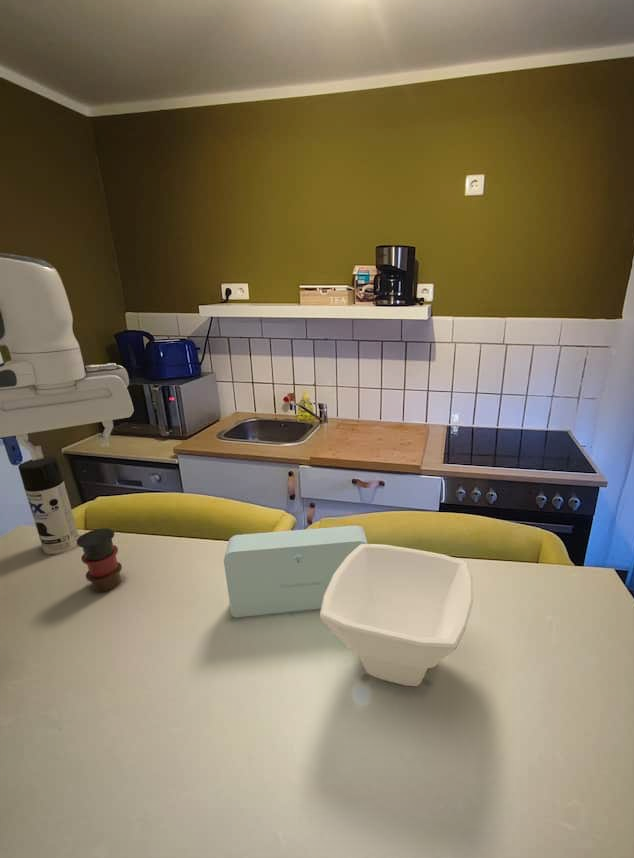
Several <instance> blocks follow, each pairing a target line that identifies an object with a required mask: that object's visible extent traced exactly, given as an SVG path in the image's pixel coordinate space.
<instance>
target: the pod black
mask: <svg viewBox="0 0 634 858" xmlns="http://www.w3.org/2000/svg"><path fill="white" fill-rule="evenodd" d="M114 537H115V531H114V530H113V529H111V528H106V527H105V528H97V529H92V530H90V531H87V532H85V533H83V534H82V535H80V536H79V538H78V540H77V546H78V547H79V548H82V551H83V554H84V555H85V558H86V560H88V561H99V560H102V559H105V558H107V557H109V556H110V555H112V554H113V552H114V546H113V545H114V542H113V538H114Z"/></svg>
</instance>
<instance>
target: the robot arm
mask: <svg viewBox="0 0 634 858" xmlns="http://www.w3.org/2000/svg"><path fill="white" fill-rule="evenodd" d="M73 318H74V317H73V312H72V309H71V306H70V301H69V298H68V295H67V292H66V289H65V285H64V284H63V281H62V278H61V276H60V274H59V272H58V271H57V269H56V268H55V267H54V266H53V265H52V264H51V263H50V262H47V260H44V259H40V258H37V257H31V256H25V255H17V254H12V253H5V252H0V347H1V346H6V347H7V349H8V352H9V356H10V360H7V361H4V362H1V363H0V439H2V438H8V437H14V436H15V438H16V442H17V443H18V444H19V445H20V446H22V447H23V448H24V449H26V451H29V453H30V457H31V459H32V460H37V459H42V458H44V457H45V456H44V453H43V450H42V449H43V448H42V446H41V445H38V446H37V445H36V446H35V445H33V444H32V443H31V442H30V441H29V434H34V433H38V432H45V431H52V430H57V429H58V430H59V429H64V428H71V427H76V426H83V425H90V424H96V423H101V424H102V426H103V427H104V430H103V433H102V434H100V435H99V434H98V435H97V440H98V445H99V447H100V448H107V447H110V446H111V442H110V438H109V437H110V436H111V433H112V431H113V428H114V420H115V421H116V420H121V419H126V418H130V417H132V415H133V414H134V412H135V409H134V405H133V402H132V397H131V395H130V392H129V390H128V387H129V385H130V378H129V373H128V371H127V369H126V368H125V367H123V366H122V365H119V364H117V363H115V362H108V363H104V364H103V363H102V364H84V360H83V356H82V355H83V354H82V352H81V347H80V343H79V342H78V340H77V339H76V336H75V333H74V331H73V322H74V319H73Z"/></svg>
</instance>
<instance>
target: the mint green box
mask: <svg viewBox="0 0 634 858" xmlns="http://www.w3.org/2000/svg"><path fill="white" fill-rule="evenodd" d="M360 544H369V543H368V539H367V536H366V533H365V529H364V528H363V527H362V526H360V525H357V524H355V525H343V526H331V527H318V528H306V529H296V530H295V529H292V530H282V531H281V530H280V531H271V532H270V531H268V532H260V533H259V532H255V533H243V534H235V535H233V536H231V537H230V538H229V540H228V543H227V546H226V550H225V554H224V558H223V566H224V573H225V580H226V586H227V594H228V599H229V601H228V602H229V608H230V613H231V615H232V617H233V618H235V619H236V618H244V617H253V616H263V615H272V614H283V613H291V612H292V613H293V612H300V611H309V610H321V607H322V602H323V597H324V594H325V592H326V590H327V588H328V585H329V583H330V581H331V579H332V577H333V574H334V573H335V572H336V570H337V569H338V568H339V566H340V565H341V564H342V562H343V561H344V560H345V558H346V557H347V556H348V555H349V554H350V553H351V552H352V551H354V550H355V549H356V548H357V547H358V546H359V545H360Z"/></svg>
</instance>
